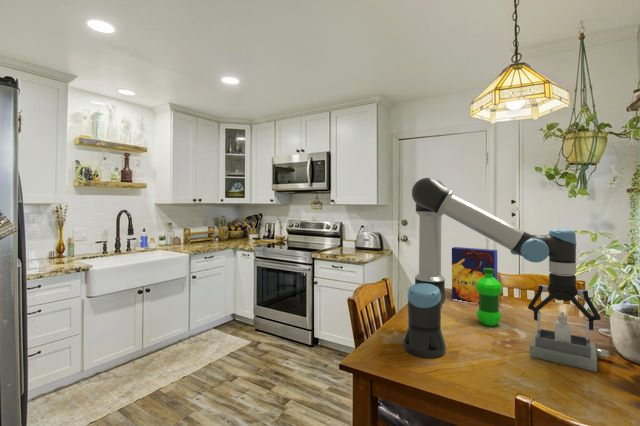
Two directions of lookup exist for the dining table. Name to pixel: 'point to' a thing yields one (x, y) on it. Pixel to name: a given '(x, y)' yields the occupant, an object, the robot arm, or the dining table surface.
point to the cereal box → (470, 271)
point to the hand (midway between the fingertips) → (562, 334)
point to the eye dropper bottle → (562, 329)
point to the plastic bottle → (489, 298)
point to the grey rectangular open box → (566, 350)
